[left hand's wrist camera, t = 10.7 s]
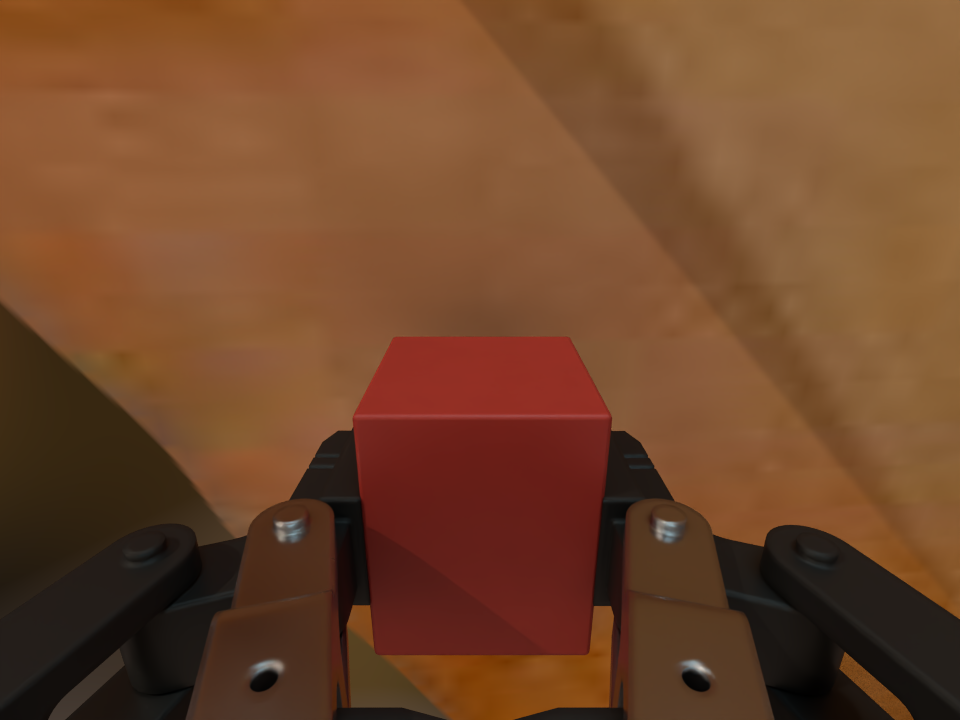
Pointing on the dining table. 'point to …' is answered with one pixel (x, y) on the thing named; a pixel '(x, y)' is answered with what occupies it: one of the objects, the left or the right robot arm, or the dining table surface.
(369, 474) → the brick
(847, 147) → the dining table surface
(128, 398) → the dining table surface
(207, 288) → the dining table surface
